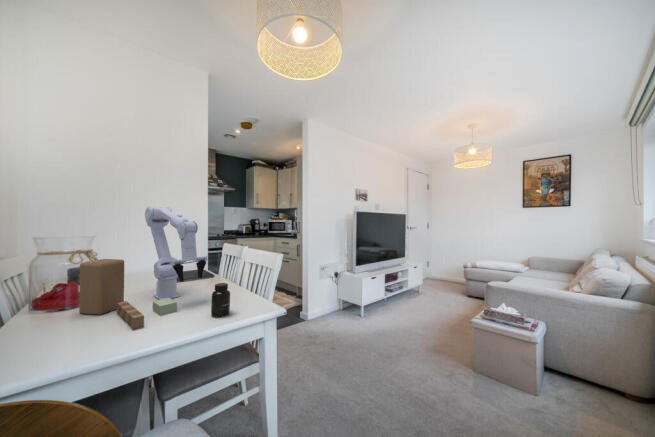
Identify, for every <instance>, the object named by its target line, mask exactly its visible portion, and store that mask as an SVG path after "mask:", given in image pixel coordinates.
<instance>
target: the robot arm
mask: <svg viewBox="0 0 655 437" xmlns="http://www.w3.org/2000/svg"><path fill="white" fill-rule="evenodd" d="M144 218H145V222H146V226H148V227H150V231H151V234H152V239H153V242H154V246H155V250H156V254H157V258H158V260H157V261H156V262H155V263H154V264H153V274H154V277H155V278H156V279H157V280H156V290H155V291H156V294H154V295H153V296H154V297H155V298H157V300H162V299H166V298H171V299H175V298H178V297H181V295H180V294H178V293H177V288H178V287H177V286H178V283H177V279H179V280H178V281H179V282H180V283H183V282H184V265H185V264H193V263H195V265H196V268H197V278H198V279H202V278H203V272H204V269H205V268H206V265H207V261H208V256H198V253H197V241H196V240H197V239H196V234H197V232H198V230H199V227H198V223H197V222H196V221H193V220H192V221H189V219H188V218H185V217H183V215H182V214H175V213H174V212H173V210H172V209H171V208H170V207H157V206H156V207H154V206H148V207H146V208H145V211H144ZM169 223H170V225H171V227H173V228H175V229H176V231H177V234H178V238H179V239H180V247H181V249H180V250H181V259H177V258H176V257H173V256H172V255H171V250H170V247H169V243H168V240H167V236H166V233H165V229H164V228H165V227H167V226H168V224H169Z"/></svg>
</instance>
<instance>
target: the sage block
mask: <svg viewBox="0 0 655 437" xmlns="http://www.w3.org/2000/svg"><path fill="white" fill-rule="evenodd" d="M152 311H153V312H154V313H155V314H157V315H158V316H159V317H160V316H164V315H168V313H169V314H171V313H176V312H177V311H178V301H176V300H174V299H173V298H166V299H162V300H159V299H157V300H153V301H152Z"/></svg>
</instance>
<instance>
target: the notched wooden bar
mask: <svg viewBox="0 0 655 437" xmlns="http://www.w3.org/2000/svg"><path fill="white" fill-rule="evenodd" d="M116 314H117V315H118V316H119V317H120V318H121V319H122V320H123V321H124V322H125V323H126V325H127V326H129V328H131V329H132V330H133V331H135V330H138V329H142V328H144V327H145V315H144V314H143V313H142V312H140V311H139V310H138V309H137V308H135V307H134V306H133V304H131V303H130V302H128V301H127V300H126V301H125V300H124V302H119V303H117V309H116Z"/></svg>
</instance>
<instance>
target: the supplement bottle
mask: <svg viewBox="0 0 655 437" xmlns="http://www.w3.org/2000/svg"><path fill="white" fill-rule="evenodd" d="M228 289H229V284H228V283H226V282H219V283H215V284H214V291H212V293H211V303H210V304H211V305H210V307H211V308H210V315H211V317H213V318H222V316H224V317H227V316H229V314H230V311H231V309H230V308H231V292H230V290H228ZM226 315H227V316H226Z"/></svg>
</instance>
